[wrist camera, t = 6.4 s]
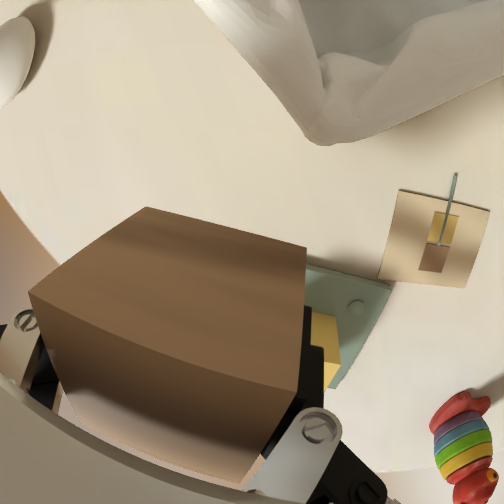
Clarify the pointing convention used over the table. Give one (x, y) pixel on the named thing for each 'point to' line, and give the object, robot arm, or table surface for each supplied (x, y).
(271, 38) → the storage basket
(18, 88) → the flower in vase
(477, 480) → the stacking bear
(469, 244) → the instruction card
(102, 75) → the table surface
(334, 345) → the mustard cube
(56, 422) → the robot arm
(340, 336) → the baseplate
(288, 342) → the walnut cube
